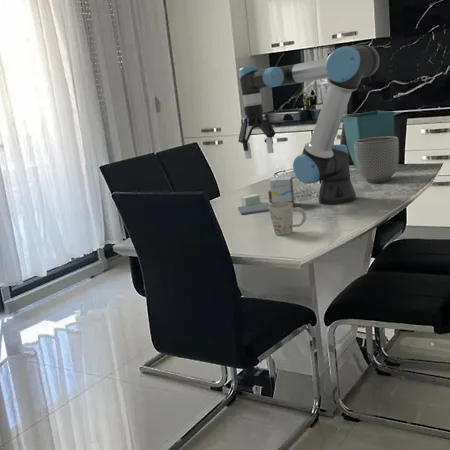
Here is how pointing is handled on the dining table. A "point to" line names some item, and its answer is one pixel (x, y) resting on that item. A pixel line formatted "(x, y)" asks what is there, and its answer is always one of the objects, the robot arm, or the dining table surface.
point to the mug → (284, 217)
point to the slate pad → (254, 208)
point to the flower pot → (367, 127)
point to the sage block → (250, 200)
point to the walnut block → (270, 196)
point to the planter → (377, 158)
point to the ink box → (282, 190)
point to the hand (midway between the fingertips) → (259, 155)
